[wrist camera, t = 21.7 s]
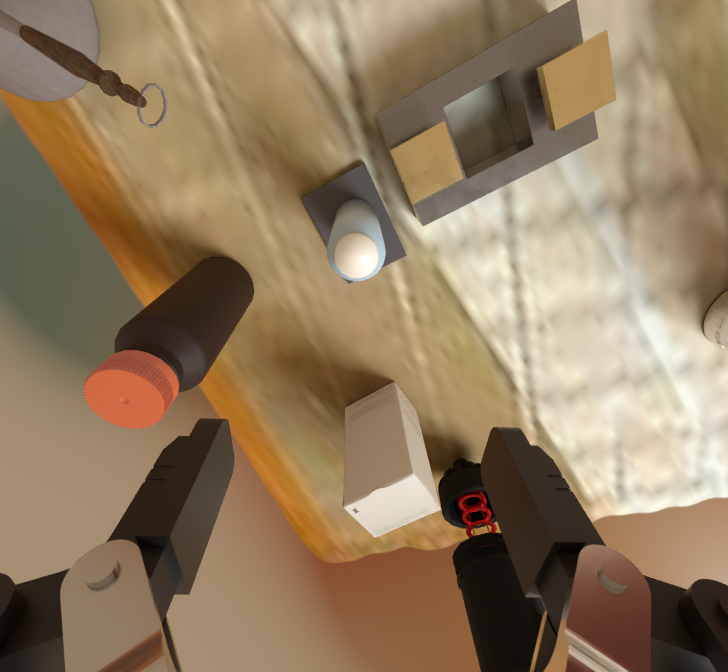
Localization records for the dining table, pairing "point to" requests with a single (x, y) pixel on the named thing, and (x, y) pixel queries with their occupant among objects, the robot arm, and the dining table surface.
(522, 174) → the housing
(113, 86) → the coffee pot
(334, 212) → the mat
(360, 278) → the cartridge
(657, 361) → the dining table surface
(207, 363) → the bottle
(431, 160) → the plunger
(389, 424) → the skincare box
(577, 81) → the plunger
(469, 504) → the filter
